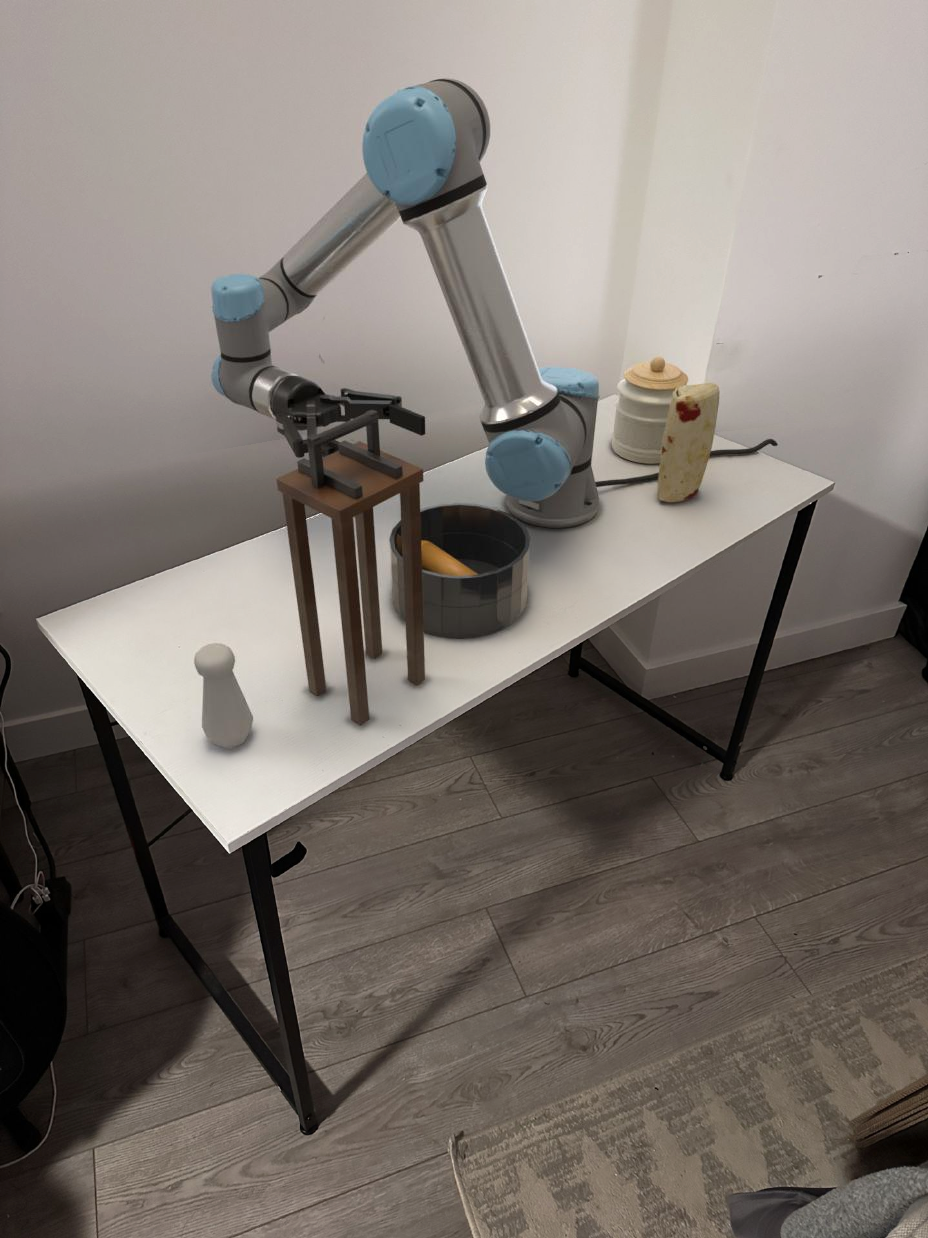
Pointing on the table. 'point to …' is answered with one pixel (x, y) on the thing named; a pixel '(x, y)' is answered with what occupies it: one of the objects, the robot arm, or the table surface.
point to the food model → (687, 441)
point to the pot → (483, 547)
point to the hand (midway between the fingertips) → (389, 442)
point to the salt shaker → (222, 697)
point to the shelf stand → (354, 549)
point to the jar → (644, 409)
